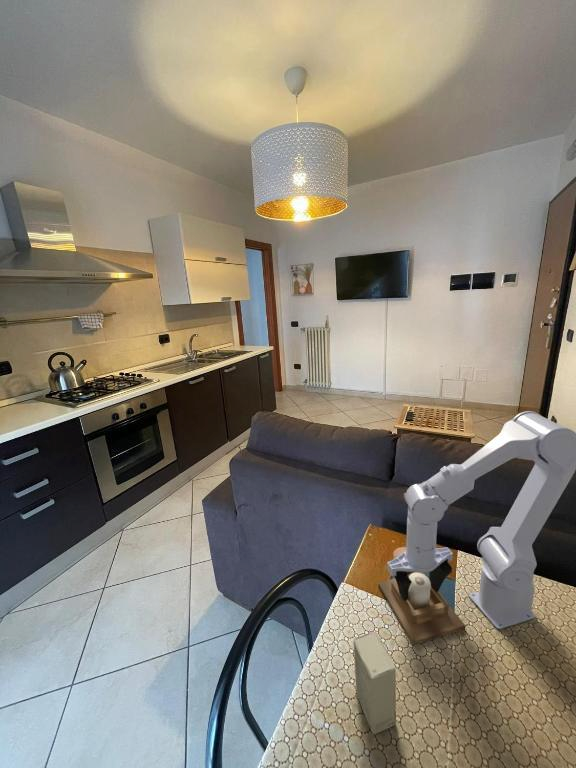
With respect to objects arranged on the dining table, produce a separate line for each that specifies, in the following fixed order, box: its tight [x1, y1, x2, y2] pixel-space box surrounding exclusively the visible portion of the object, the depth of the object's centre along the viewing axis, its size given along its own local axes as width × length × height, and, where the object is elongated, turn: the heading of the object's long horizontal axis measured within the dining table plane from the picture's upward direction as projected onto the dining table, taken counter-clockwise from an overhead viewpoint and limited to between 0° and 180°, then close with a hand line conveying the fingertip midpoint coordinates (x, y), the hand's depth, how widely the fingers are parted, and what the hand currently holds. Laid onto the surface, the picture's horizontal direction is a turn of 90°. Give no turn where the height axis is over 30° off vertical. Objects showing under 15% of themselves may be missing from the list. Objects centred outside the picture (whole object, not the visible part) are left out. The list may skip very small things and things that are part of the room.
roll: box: [408, 572, 431, 610], centre depth 69 cm, size 4×4×6 cm
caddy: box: [377, 572, 466, 646], centre depth 69 cm, size 12×14×4 cm
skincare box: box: [352, 631, 397, 735], centre depth 51 cm, size 6×4×12 cm
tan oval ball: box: [392, 546, 415, 575], centre depth 81 cm, size 6×6×2 cm
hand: (418, 592), depth 69 cm, fingers open, 7 cm apart
